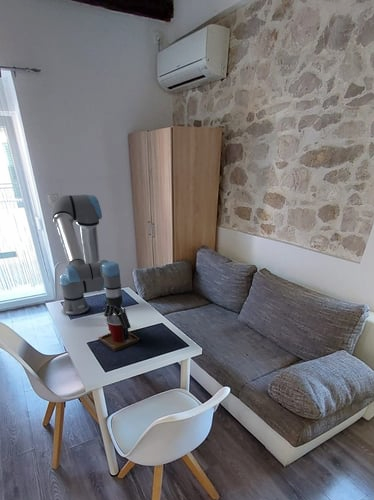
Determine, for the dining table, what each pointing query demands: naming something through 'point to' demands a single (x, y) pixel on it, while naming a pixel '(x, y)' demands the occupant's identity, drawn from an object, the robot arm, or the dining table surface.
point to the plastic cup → (115, 328)
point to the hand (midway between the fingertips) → (118, 334)
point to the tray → (118, 345)
